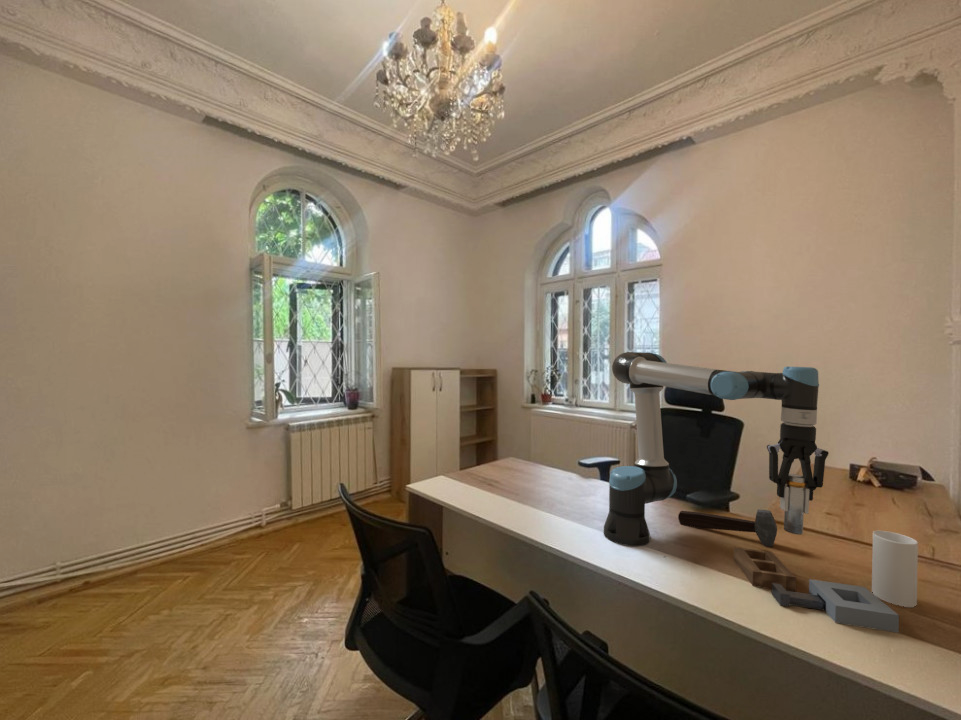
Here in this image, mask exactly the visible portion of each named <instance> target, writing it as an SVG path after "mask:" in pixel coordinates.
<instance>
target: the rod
mask: <svg viewBox="0 0 961 720" xmlns="http://www.w3.org/2000/svg"><path fill="white" fill-rule="evenodd" d="M786 486H788V487H789V496H788V511H784V514H783V515H784V517H783V519H784V520H783V530H784V531H785V532H788V533H789V534H793V535H798V536H799V535H803V534H804V533H803V531H804V514H805V513H804V496H805V487H806V482H805V477H804V476H803V475H800V474H795V473H789V475H788V478H787V482H786Z"/></svg>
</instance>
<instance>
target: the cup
mask: <svg viewBox="0 0 961 720" xmlns="http://www.w3.org/2000/svg"><path fill="white" fill-rule="evenodd" d="M918 547H919V543H918V540H916V539H915V538H912V537H910V536H908V535H904V534H901V533H897V532H893V531H888V530H873V531H872V555H871V557H872V558H871V559H872V561H871V563H872V564H871V565H872V566H871V567H872V570H871V571H872V572H871V593H872V592H873V593H872V594H874V595H875V596H876V597H877V598H879V599H880V600H881V601H884V602H886V603H888V604H891V603H892V605H894V606H895V605H896V606H898V605H899V606H898V607H903V606H904V608H915V607H914V606H916V605H917V606H918V563H919V561H918V557H919V556H918V555H919V554H918V552H919V548H918ZM917 606H916V607H917Z"/></svg>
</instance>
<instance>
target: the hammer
mask: <svg viewBox="0 0 961 720" xmlns="http://www.w3.org/2000/svg"><path fill="white" fill-rule="evenodd" d="M677 515H678V516H677V517H678V522H679V524H680V525H682V526H685V527H689V528H690V527H691V528H697V529H705V530H707V529H708V530H718V531H729V532H730V531H731V532H733V531H735V532H744V533H745V532H746V533H755V534H756V536H757V538H758V540H759V541H760V543H761V544H762V546H763V547H769V548H772V547H773V546H774V544H775V541H776V537H777V533H778V524H777V523H776V519H775V517H774V515H773V513H772V512H771V510H767V509H757V511H756V515H755V519H754V520H755V521H754V520H751V519H750V520H749V519H743V518H735V517H730V516H724V515H718V514H711V513H706V512H700V511H692V510H691V511H688V510H680V511H679V513H678V514H677Z"/></svg>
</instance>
